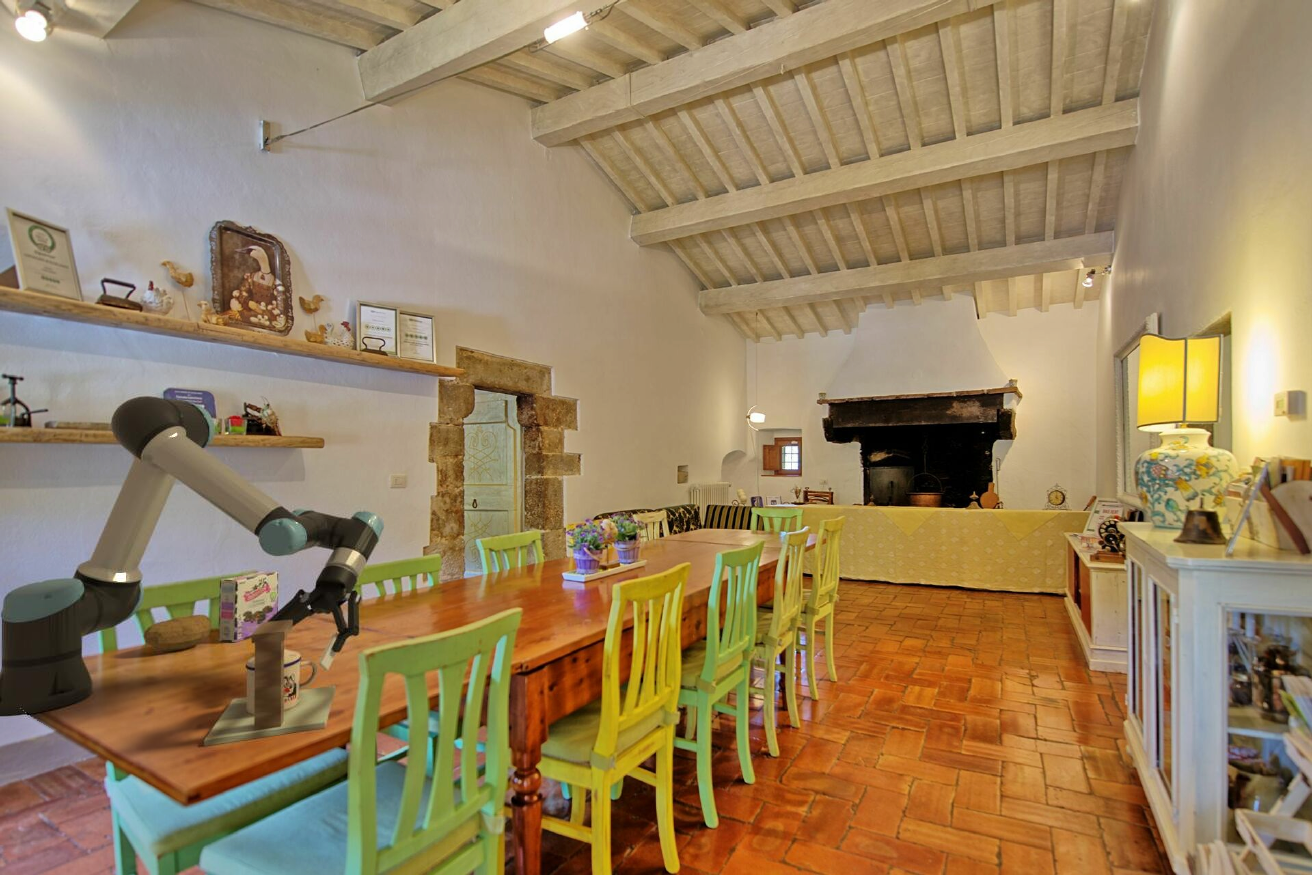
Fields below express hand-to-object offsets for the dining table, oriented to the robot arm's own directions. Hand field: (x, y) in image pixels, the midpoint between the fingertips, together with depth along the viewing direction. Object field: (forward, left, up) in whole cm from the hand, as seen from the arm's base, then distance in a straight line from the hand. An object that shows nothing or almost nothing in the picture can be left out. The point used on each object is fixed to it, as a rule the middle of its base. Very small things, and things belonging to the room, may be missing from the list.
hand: (291, 665), depth 125 cm
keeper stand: (-2, -5, -7) cm, 9 cm away
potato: (-33, +54, -8) cm, 63 cm away
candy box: (-19, +62, -8) cm, 65 cm away
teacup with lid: (-1, -3, -7) cm, 7 cm away
